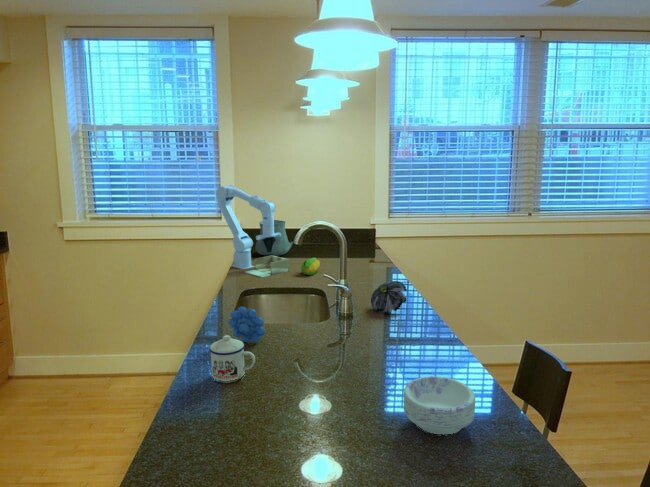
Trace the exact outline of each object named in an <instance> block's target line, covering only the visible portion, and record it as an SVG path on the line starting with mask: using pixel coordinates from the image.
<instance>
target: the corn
mask: <svg viewBox="0 0 650 487" xmlns="http://www.w3.org/2000/svg"><path fill="white" fill-rule="evenodd" d="M320 265H321V262H320V260H319V259H317V258H316V257H312V258H311V257H310V258H309V259H307V260H305V261H303V263H302V264H301V266H300V269H301V271H302V274H303V275H306V276H307V275H308V276H311V275H314V274H316V273H317V272H319V268H320Z"/></svg>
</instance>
